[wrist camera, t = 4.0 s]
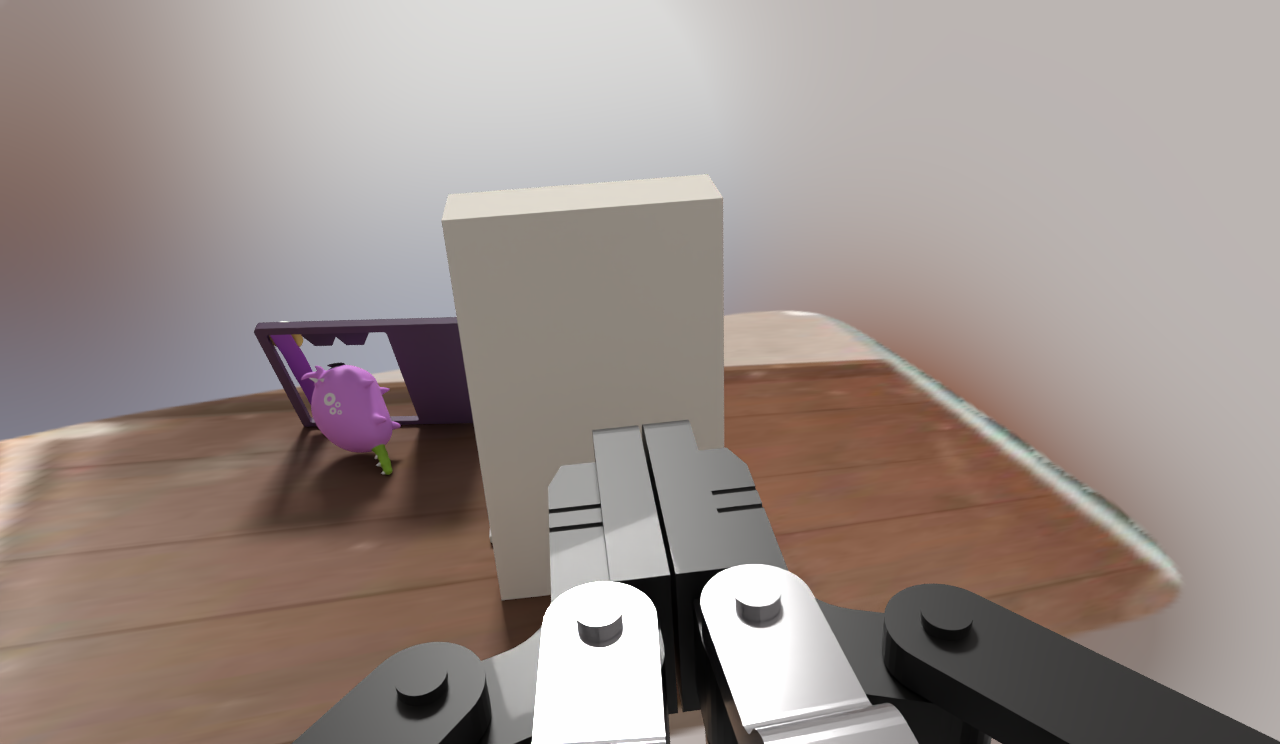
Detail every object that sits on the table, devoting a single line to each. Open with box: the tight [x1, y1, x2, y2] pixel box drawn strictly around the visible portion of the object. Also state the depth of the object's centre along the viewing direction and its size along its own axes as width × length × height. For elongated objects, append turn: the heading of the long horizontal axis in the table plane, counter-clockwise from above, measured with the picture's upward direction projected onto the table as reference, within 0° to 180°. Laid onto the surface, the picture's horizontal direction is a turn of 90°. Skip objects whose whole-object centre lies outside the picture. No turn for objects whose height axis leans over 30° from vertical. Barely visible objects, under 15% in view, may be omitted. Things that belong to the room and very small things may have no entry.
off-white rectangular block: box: [442, 174, 724, 600], centre depth 30 cm, size 8×3×14 cm, turn 96°
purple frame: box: [254, 317, 473, 475], centre depth 39 cm, size 7×5×9 cm
